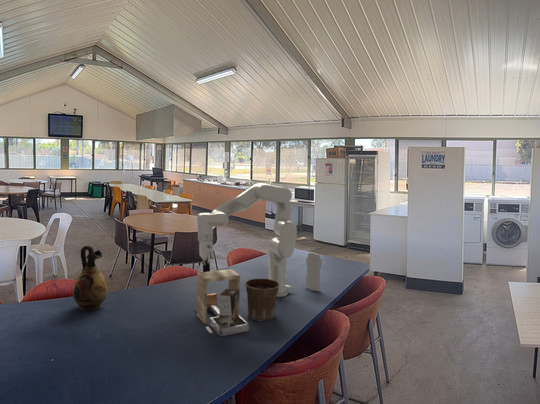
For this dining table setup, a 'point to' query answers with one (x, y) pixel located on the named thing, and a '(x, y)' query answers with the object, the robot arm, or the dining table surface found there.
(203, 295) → the tunnel
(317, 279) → the tall pale column
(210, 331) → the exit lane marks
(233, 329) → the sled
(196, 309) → the strip
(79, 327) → the dining table surface
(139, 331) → the dining table surface
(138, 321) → the dining table surface
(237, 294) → the coffee box
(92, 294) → the ceramic jug
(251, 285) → the plant pot
